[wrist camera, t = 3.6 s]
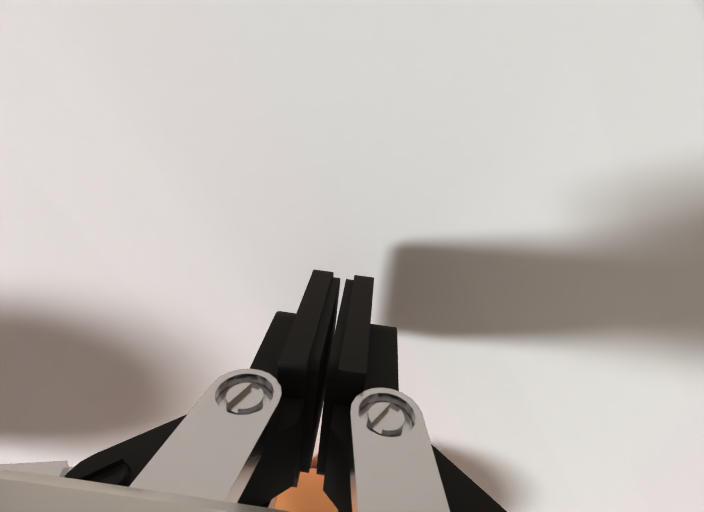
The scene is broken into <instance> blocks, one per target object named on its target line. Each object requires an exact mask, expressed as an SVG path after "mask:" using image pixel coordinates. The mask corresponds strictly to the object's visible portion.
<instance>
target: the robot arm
mask: <svg viewBox="0 0 704 512" xmlns="http://www.w3.org/2000/svg"><path fill="white" fill-rule="evenodd" d="M373 284H374V278H372V277H365V276H357V275H355V276H354V280H349V279H346V282H345V287H344V292H343V297H342V301H341V306H340V311H339V315H338V320H337V325H336V330H335V324H336V315H337V305H338V296H339V287H340V278H334V277H333V272H328V271H320V270H313V272H312V275H311V278H310V280H309V283H308V285H307V288H306V290H305V293H304V296H303V298H302V301H301V303H300V306H299V309H298V311H297V314H295V313H288V312H281V311H278V312H277V313H276V314H275V316H274V318H273V320H272V323H271V325H270V327H269V329H268V331H267V333H266V335H265V337H264V339H263V342H262V344H261V346H260V348H259V350H258V352H257V354H256V356H255V358H254V361H253V363H252V365H251V367H250V369H239V370H236V371H232V372H229V373H227V374H225V375H223V376H221V377H219V378H218V379H217V380H216V381H215V382H214V383H213V384H212V385H211V386H210V387H209V388H208V390H207V391H206V392H205V393H204V395H203V396H202V397H201V398H200V399H199V401H198V402H197V403H196V404H195V406H194V407H193V408H192V409H191V411H190V412H189V413H188V414H187V415H185V416H182V417H180V418H178V419H175V420H173V421H171V422H168V423H166V424H164V425H161V426H159V427H157V428H154V429H152V430H150V431H147V432H145V433H143V434H140V435H138V436H136V437H133V438H131V439H129V440H126V441H124V442H122V443H119V444H117V445H115V446H112V447H110V448H108V449H105V450H103V451H101V452H98V453H96V454H94V455H92V456H90V457H88V458H87V459H85V460H83V461H81V462H80V463H78V464H77V465H76V466H75V467H69V466H68V462H67V461H53V462H36V463H18V464H0V512H291V511H285V510H279V509H274V508H275V504H276V501H277V496H278V495H279V494H281V493H282V492H284V491H286V490H287V489H289V488H290V487H296V488H297V485H298V480H299V476H300V472H305V473H309V471H310V466H311V462H312V457H313V452H314V447H315V442H316V437H317V432H318V427H319V422H320V417H321V412H322V407H323V414H322V424H321V433H320V443H319V453H318V462H317V473H316V474H318V475H324V484H323V491H324V492H325V494H326V495H327V496H328V498H329V499H330V500H331V501H332V503H333V504H334V505H335V507H336V508H337V511H336V512H507V511H506V510H504V509H503V508H502V507H501V506H500V505H499V504H498V503H497V502H495V501H494V500H493V499H492V498H491V497H490V496H489V495H488V494H487V493H485V492H484V491H483V490H482V489H481V488H480V487H479V486H478V485H476V484H475V483H474V482H473V481H472V480H471V479H470V478H469V477H467V476H466V475H465V474H464V473H463V472H462V471H461V470H460V469H458V468H457V467H456V466H455V465H454V464H453V463H452V462H451V461H449V460H448V459H447V458H446V457H445V456H444V455H443V454H442V453H440V452H439V451H438V450H437V449H436V448H435V447H434V446H433V445H431V443H430V439H429V436H428V432H427V428H426V425H425V421H424V418H423V415H422V412H421V410H420V408H419V406H418V405H417V404H416V403H415V402H414V401H413V400H412V399H411V398H410V397H408V396H407V395H405V394H404V393H402V392H399V388H398V349H397V328H396V327H389V326H382V325H375V324H370V321H371V309H372V296H373ZM334 333H335V334H334ZM323 402H324V404H323Z"/></svg>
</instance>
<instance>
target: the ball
mask: <svg viewBox="0 0 704 512" xmlns="http://www.w3.org/2000/svg"><path fill="white" fill-rule="evenodd" d="M316 473H317V469H316V468H310V471H309V473H305V472H300V476H299V480H298V485H297V488H296V487H290V488H289V489H287V490H286V491H284V492H282V493H281V494H279V495H278V496H277V501H276V504H275V508H274V509H279V510H285V511H291V512H336V511H337V508H336V507H335V505H334V504H333V503H332V501H331V500H330V499H329V498H328V496H327V495H326V494H325V492H324V491H323V484H324V475H318V474H316Z"/></svg>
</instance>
